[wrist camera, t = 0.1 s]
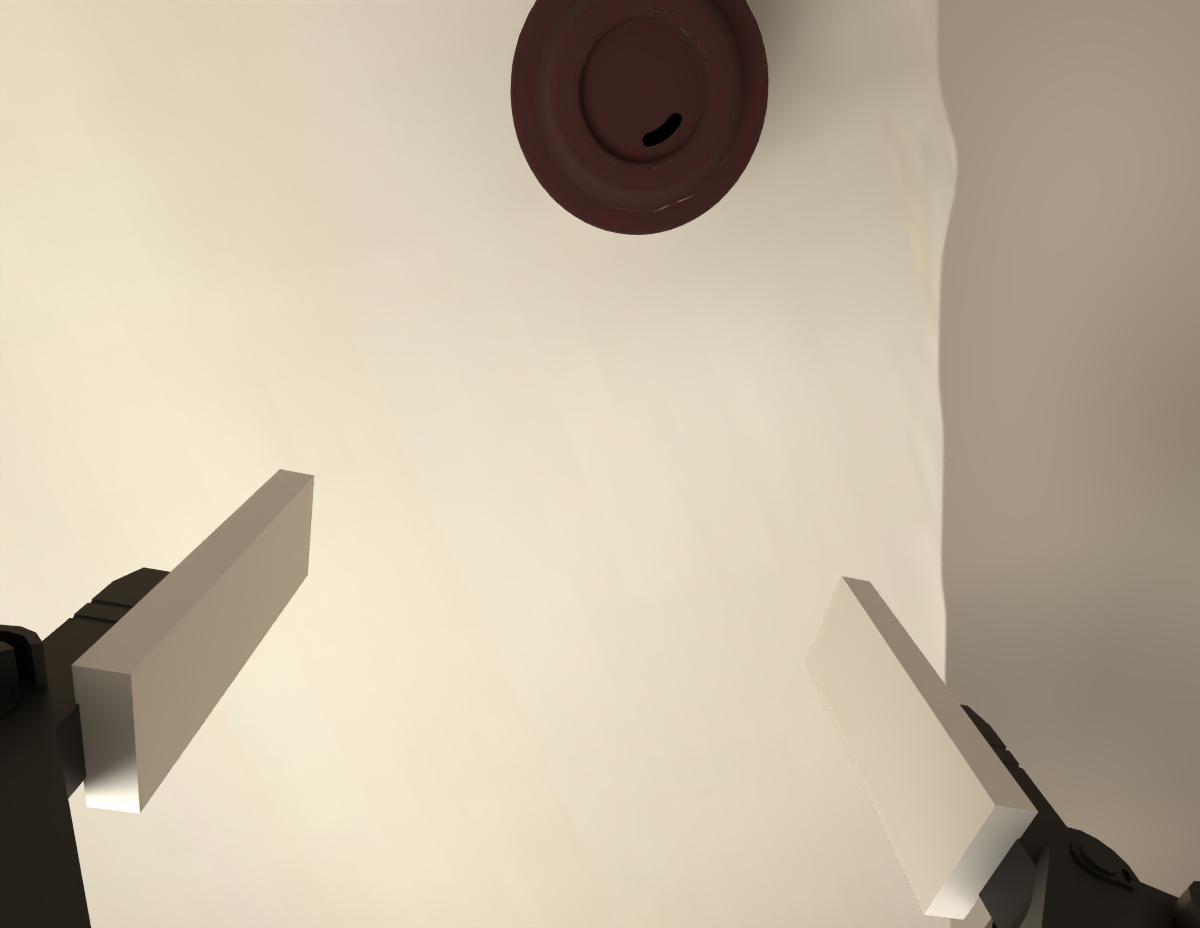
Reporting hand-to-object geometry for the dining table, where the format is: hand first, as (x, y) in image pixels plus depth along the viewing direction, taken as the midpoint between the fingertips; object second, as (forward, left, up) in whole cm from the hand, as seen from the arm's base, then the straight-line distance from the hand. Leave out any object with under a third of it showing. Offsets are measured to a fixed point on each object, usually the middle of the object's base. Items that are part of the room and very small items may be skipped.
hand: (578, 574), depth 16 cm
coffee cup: (-12, 0, -28) cm, 31 cm away
